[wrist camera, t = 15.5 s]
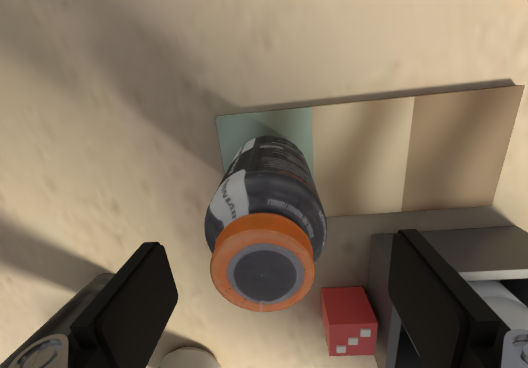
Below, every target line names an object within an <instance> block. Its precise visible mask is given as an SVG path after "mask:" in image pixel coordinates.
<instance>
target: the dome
mask: <svg viewBox="0 0 528 368" xmlns="http://www.w3.org/2000/svg"><path fill="white" fill-rule="evenodd" d="M466 282H467V283H468V284H469V285H470V286H471V287H472V288H473V289H474V290H475V291H476V293H477V294H478V295H479V296H480V297H481V298H482V299H483V300H484V301H485V302H486V303H487V304H488V305H489V306H490V307H491V309H492V310H493V311H494V312H495V313H496V314H497V315H498V316H499V317H500V318H501V319H502V320H503V321H504V322H505V323H506V325H507V326H508V327H509V328H510V329H511V330H513V329H525V330H528V308H527V307H526V306H525V305H524V304H523V303H522V302H521V301H520V300H518V299H517V298H516V297H515V296H514V295H513V294H512V293H511V292H510V291H509V290H507V289H506V288H505V287H504V286H503V285H502V284H501V283H500V282H499V281H497V280H479V281H466ZM402 324H403V323H402ZM403 326H404V324H403ZM404 328H405V326H404ZM405 330H406V328H405ZM406 332H407V330H406ZM407 334H408V332H407ZM408 336H409V334H408ZM409 338H410V336H409ZM410 340H411V338H410ZM411 341H412V340H411ZM412 343H413V342H412ZM413 345H414V344H413ZM414 347H415V346H414ZM415 349H416V348H415ZM416 351H417V350H416ZM417 353H418V352H417ZM418 355H419V354H418Z"/></svg>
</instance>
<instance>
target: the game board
mask: <svg viewBox="0 0 528 368" xmlns="http://www.w3.org/2000/svg"><path fill="white" fill-rule="evenodd" d="M524 87H525V85H514V86H504V87H494V88H485V89H475V90H465V91H456V92H446V93H436V94H426V95H417V96H407V97H397V98H388V99H378V100H368V101H359V102H349V103H339V104H330V105H320V106H310V107H300V108H291V109H281V110H271V111H262V112H252V113H242V114H233V115H223V116H216V117H215V121H216V127H217V133H218V138H219V144H220V150H221V156H222V161H223V167H224V173H225V174H226V172H227V170H228V168H229V166H230V165H231V163H232V161H233V159H234V157H235V155H236V153H237V152H238V151H239V149H240V148H241V147H242V146H243V145H244V144H245V143H247V142H248V141H250V140H252V139H254V138H256V137H260V136H278V137H281V138H284V139H287V140H289V141H290V142H292V143H293V144H295V145H296V146H297V147H298V148H299V150H300V151H301V152H302V153H303V155H304V157H305V159H306V162H307V164H308V167H309V169H310V172H311V175H312V178H313V181H314V184H315V186H316V190H317V193H318V195H319V198H320V201H321V204H322V207H323V210H324V213H325V217H333V216H348V215H362V214H377V213H392V212H407V211H421V210H436V209H451V208H465V207H480V206H492V202H493V199H494V195H495V192H496V188H497V184H498V181H499V177H500V174H501V170H502V166H503V163H504V159H505V155H506V152H507V148H508V145H509V141H510V137H511V134H512V130H513V126H514V123H515V119H516V116H517V112H518V108H519V105H520V101H521V97H522V94H523V90H524Z"/></svg>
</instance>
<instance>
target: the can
mask: <svg viewBox="0 0 528 368" xmlns="http://www.w3.org/2000/svg"><path fill="white" fill-rule="evenodd" d="M158 368H221V366H220V364H219V363H218V362H217V361H216V359H215V357H214V356H213V355H212V354H210V353H209V352H207V351H205V350H203V349H200V348H196V347H182V348H179V349H177V350H175V351H174V352H171V353H169V354H167V355H166V356H165V357H163V358H162V360H161V363H160V365H159V367H158Z"/></svg>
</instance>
